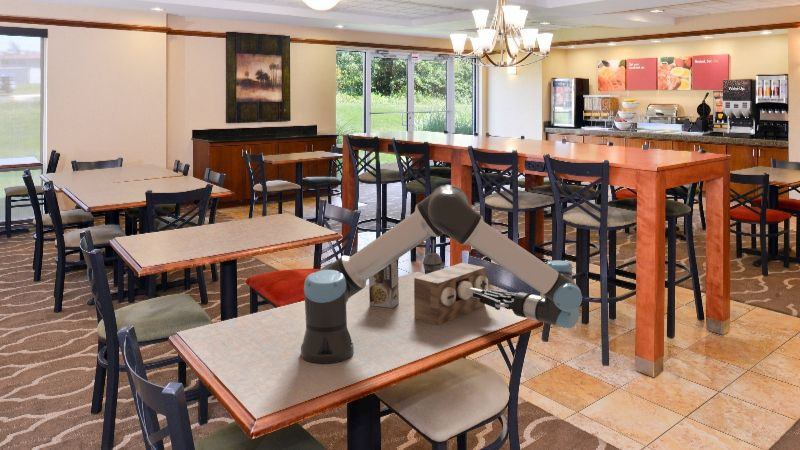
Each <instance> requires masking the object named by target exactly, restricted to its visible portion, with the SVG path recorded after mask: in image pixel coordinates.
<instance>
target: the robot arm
mask: <svg viewBox="0 0 800 450" xmlns="http://www.w3.org/2000/svg"><path fill="white" fill-rule="evenodd" d="M469 202H470V201H469V198H468V196H467V194H466V193H465V192H464V190H462V188H459V187H458V186H456V185H452V184H445V185H443V184H442V185H440V186H438V187H436V188H435V189H434V190H433V191H432V192H431V194H430V195H428V196H427V197H425V198H424V199H423V200H421V201H420V202H418V203H417V204H416V205H415V208H414V212H413V213H411V214H409V216H407V217H406V218H404V219H402V220H401V221H400V222H398V223H397V224H395V225H394V226H392V228H390V229H388V230H387V231H385V232H384V233H383V234H382V235H380V236H378V237H377V238H375V239H374V240H373V241H371V242H370V243H368V244H367V245H365V246H363V247H362V248H361V249H359V250H358V251H357V252H356V253H354V254H352V255H351V256H349V255H342V256H341V257H339V258H338V259H337V260H335V261H334V262H331V263H328V264H326V265H325V266H324V267H322V268H321V269H320V270H317V271H315V272H311V273H310V274H308V275H306V277H305V280H304V284H303V285H304V286H303V293H304V309H305V310H304V311H305V332H304V336H303V341H302V343H301V346H300V355H301V356H300V357H301V358H302V359H303V360H305V361H307V362H309V363H314V364H333V363H334V364H335V363H339V362H344V361H346V360H347V359H349V358H351V357H352V356H353V355H354V353H355V352H354V351H355V350H354V349H355V348H354V343H353V341H352V337H351V335H350V332H349V330H348V321H347V316H348V315H347V303H348V301H349V300H350V298H351V297H353V296H355V295H356V294H357V293H359V292H361V291H362V290H363V289H365V288H366V286H367V281H368V280H369V278H370V277H372V276H373V275H375V274H376V273H378V272H379V271H381V270H382V269H384V268H385V267H386V266H388V265H389V264H391V263H392V262H394V261H395V260H399V259H400V258H401V257H403V256H404V255H406V254H407V253H408V252H410V251H411V250H413V249H414V248H415V247H417V246H418V245H421V244H422V243H423V242H425V241H426V240H427V239H429V238H430V237H436V238H439V237H441V236H442V235H446V236H448V237H449V238H451V239H452V240H454V241H456V242H458V243H459V244H460V245H461V246H465V245H468V246H470V247H471V248H473V249H474V250H476V251H478V252H479V253H480V254H482V255H483V256H485V257H487V258H488V259H490V260H491V261H492V262H494V263H495V264H497V265H499V266H500V267H502V268H503V269H504V270H506V271H507V272H508V273H510V274H512V275H513V276H515V277H516V278H517V279H519V280H521V281H522V282H524V283H525V284H527V285H529V287H531V288H533V289H534V290H536V291H538V292H539V293H540V294H542V295H543V296H541V295H537V294H531V293H528V292H523V291H521V292H511V291H504V290H497V289H490V290H488V289H487V290H486V291H485V290H480V289H476V288H472V287H467V290H466V296H470V297H474V298H478V299H480V302H481V303H484V304H485V305H486V306H489V307H492V308H494V309H495V310H496V311H500V310H501V308H504V309H507V310H512V312H513V314H514V315H515V316H518V317H521V318H526V319H529V320H532V321H533V320H534V321H535V322H537V323H538V322H540V323H541V322H542V323H546V324H548V325H551V326H555V327H558V328H563V329H572V328H574V327H575V326H576V324H577V323H578V321H579V318H580V309H579V307H580V306H581V304H582V302H583V301H582V300H583V295H582V290H581V289H580V287H579V286H578V285H577V284H576V282H575V280H574V279H573V273H574V272H573V264H572V263H571V262H569V261H566V260H559V259H558V260H550V261H548V262H546V263H545V262H544V261H542V260H541V259H539V258H538V257H536V256H535V255H534V254H532V253H531V252H529V251H528V250H526V249H525V248H523V247H522V246H520V245H519V244H517V243H516V242H515V241H513V240H511V239H510V238H508V237H507V235H504V234H503V233H501V232H500V231H498V230H497V229H496V228H494V227H492V226H491V225H489V224H488V223H487V222H485V221H484V217H483V215H481V214H480V213H478V212H477V211H476V210H475V209H473V208H472V207H471V205H470V203H469Z"/></svg>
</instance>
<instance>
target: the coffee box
mask: <svg viewBox="0 0 800 450" xmlns="http://www.w3.org/2000/svg"><path fill="white" fill-rule="evenodd" d="M368 286H369V287H368V288H369V289H368V291H369V295H368V296H369V306H372V307H379V308H380V307H381V308H388V309H389V308H390V309H392V308H394V307H395V306H397V305H398V304H399V303H400V301H399V300H400V297H399V259H397V260H395V261H394V262H392V263H391V264H389V265H388V266H386V267H385V268H384V269H382V270H381V271H379V272H378V273H376V274H375V275H373V276H372V277H370V278H369V279H368Z"/></svg>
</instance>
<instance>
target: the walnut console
mask: <svg viewBox="0 0 800 450" xmlns="http://www.w3.org/2000/svg"><path fill="white" fill-rule="evenodd" d="M413 279H414V280H413V288H414V290H413V291H414V292H413V293H414V294H413V295H414V299H413V300H414V303H413V304H414V309H413V310H414V317H413V318H414V319H416V320H418V321H422V322H425V323H429V324H432V325H436V326H439V325H441V324H444V323H447V322H449V321H451V320H453V319H456V318H458V317H461V316H464V315H467V314H468V313H470V312H473V311H476V310H478V309H481V308H483V307H485V305H486V304H484V303H481V302H480V299H478V298H474V297H469V298H468V299H466V300H465V299H461V298H459V297H458V295H457V287H458V285H459V283H460V282H461V281H468V282H470V283H471V284H472V287H473V288H476V289H480V290H485V291H487V290H488V286H489V279H488V277H487V276H486V267H485V266H481V265H475V264H471V263H466V262H460V263H456V264H455V265H451V266H447V267H444V268H441V270H438V271H434V272H431V273H428V274H425V273H424V274H422V275H420V276H416V277H414V278H413Z"/></svg>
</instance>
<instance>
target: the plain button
mask: <svg viewBox="0 0 800 450" xmlns="http://www.w3.org/2000/svg"><path fill="white" fill-rule="evenodd" d="M467 287H472V284H471V283H470V282H468V281H461V282H460V283H459V285H458V287H457V295H458V297H459V298H461V299H465V300H466V299H468V298H469V297H470V296H466V290H467ZM472 288H473V287H472Z"/></svg>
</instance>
